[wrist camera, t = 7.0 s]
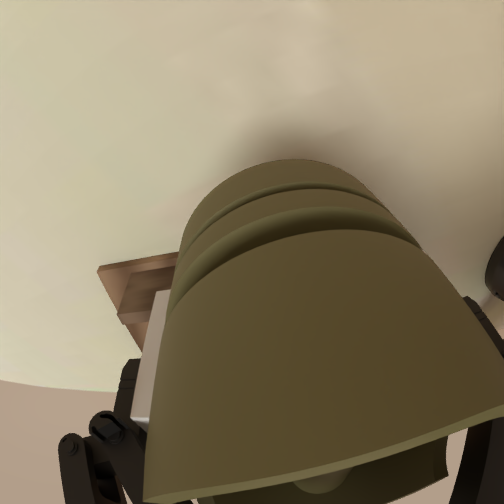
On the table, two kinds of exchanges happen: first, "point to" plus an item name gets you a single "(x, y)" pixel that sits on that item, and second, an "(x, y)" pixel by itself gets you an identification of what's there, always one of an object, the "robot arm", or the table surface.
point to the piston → (310, 350)
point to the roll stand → (137, 289)
